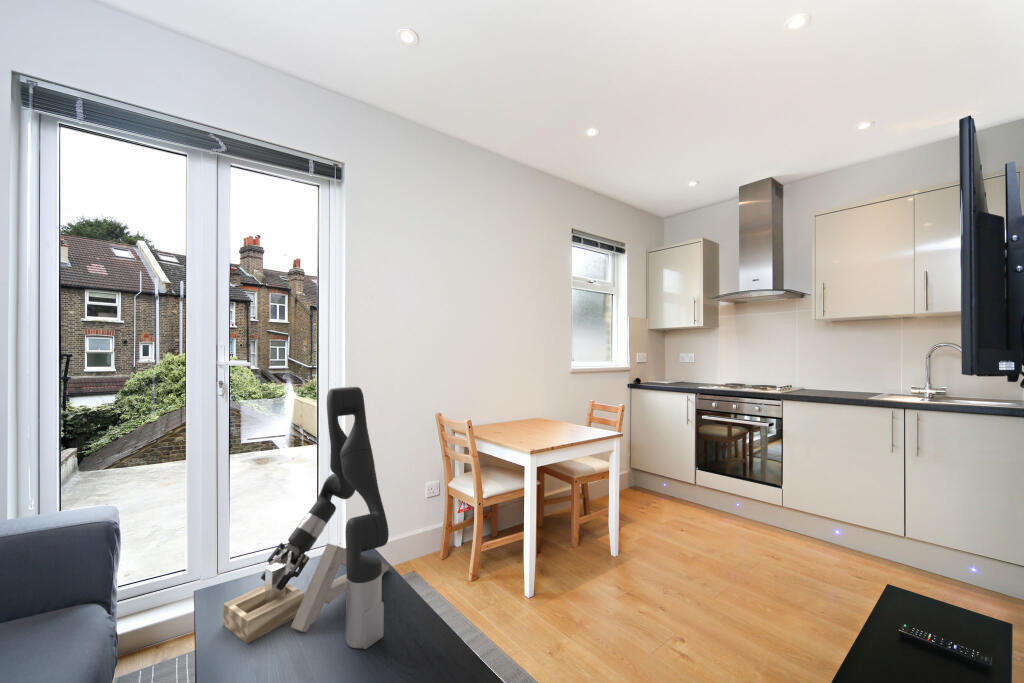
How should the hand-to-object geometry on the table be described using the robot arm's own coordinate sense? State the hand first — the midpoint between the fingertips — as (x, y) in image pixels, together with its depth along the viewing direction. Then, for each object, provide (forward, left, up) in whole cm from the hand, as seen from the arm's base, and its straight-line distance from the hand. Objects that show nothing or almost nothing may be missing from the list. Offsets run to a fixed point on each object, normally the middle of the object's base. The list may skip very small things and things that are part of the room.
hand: (270, 584), depth 125 cm
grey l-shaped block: (0, +2, -8) cm, 8 cm away
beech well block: (0, +2, -9) cm, 9 cm away
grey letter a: (-11, -18, -10) cm, 23 cm away
